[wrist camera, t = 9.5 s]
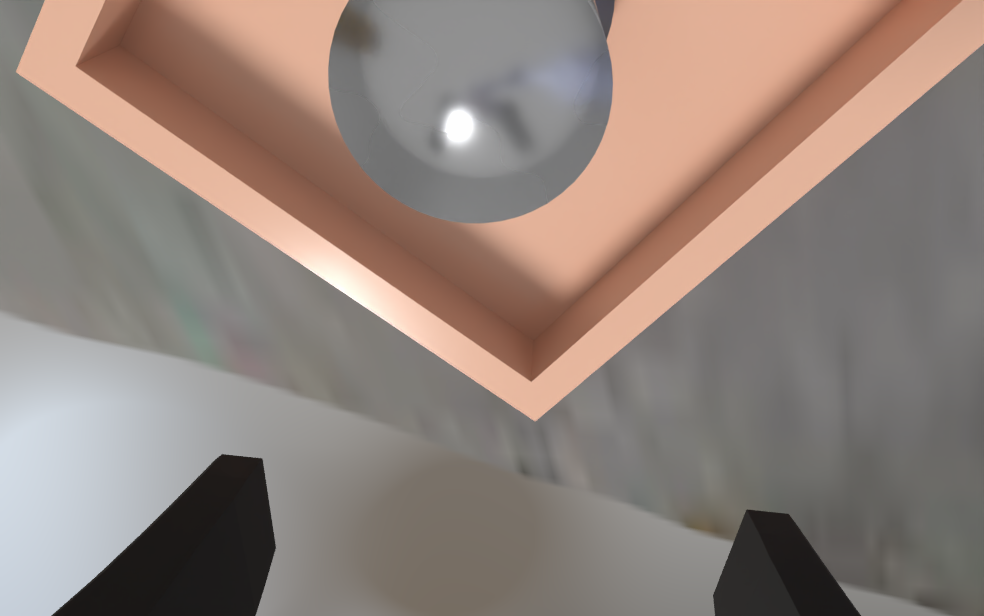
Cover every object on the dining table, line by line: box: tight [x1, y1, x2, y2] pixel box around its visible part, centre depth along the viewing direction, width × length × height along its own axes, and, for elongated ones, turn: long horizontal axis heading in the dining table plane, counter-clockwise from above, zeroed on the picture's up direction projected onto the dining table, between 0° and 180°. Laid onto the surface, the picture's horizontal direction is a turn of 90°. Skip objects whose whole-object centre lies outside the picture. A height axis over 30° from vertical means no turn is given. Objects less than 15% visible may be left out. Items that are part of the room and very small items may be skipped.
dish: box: [16, 0, 984, 421], centre depth 15 cm, size 15×15×2 cm
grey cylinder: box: [328, 0, 615, 223], centre depth 12 cm, size 5×5×8 cm
